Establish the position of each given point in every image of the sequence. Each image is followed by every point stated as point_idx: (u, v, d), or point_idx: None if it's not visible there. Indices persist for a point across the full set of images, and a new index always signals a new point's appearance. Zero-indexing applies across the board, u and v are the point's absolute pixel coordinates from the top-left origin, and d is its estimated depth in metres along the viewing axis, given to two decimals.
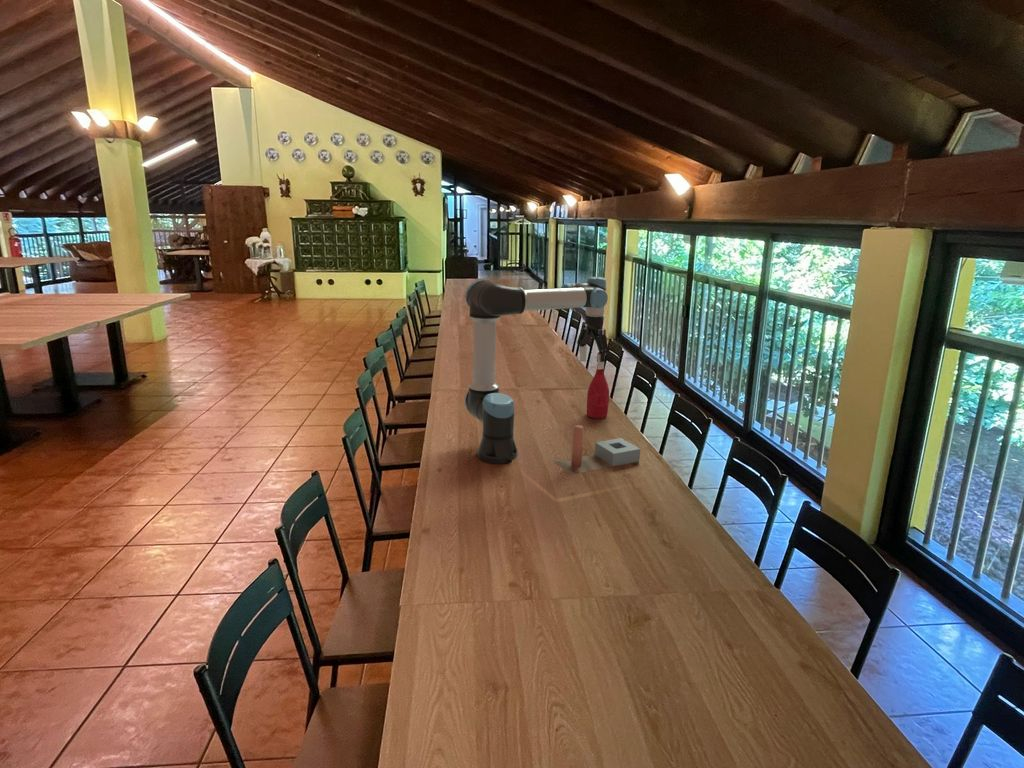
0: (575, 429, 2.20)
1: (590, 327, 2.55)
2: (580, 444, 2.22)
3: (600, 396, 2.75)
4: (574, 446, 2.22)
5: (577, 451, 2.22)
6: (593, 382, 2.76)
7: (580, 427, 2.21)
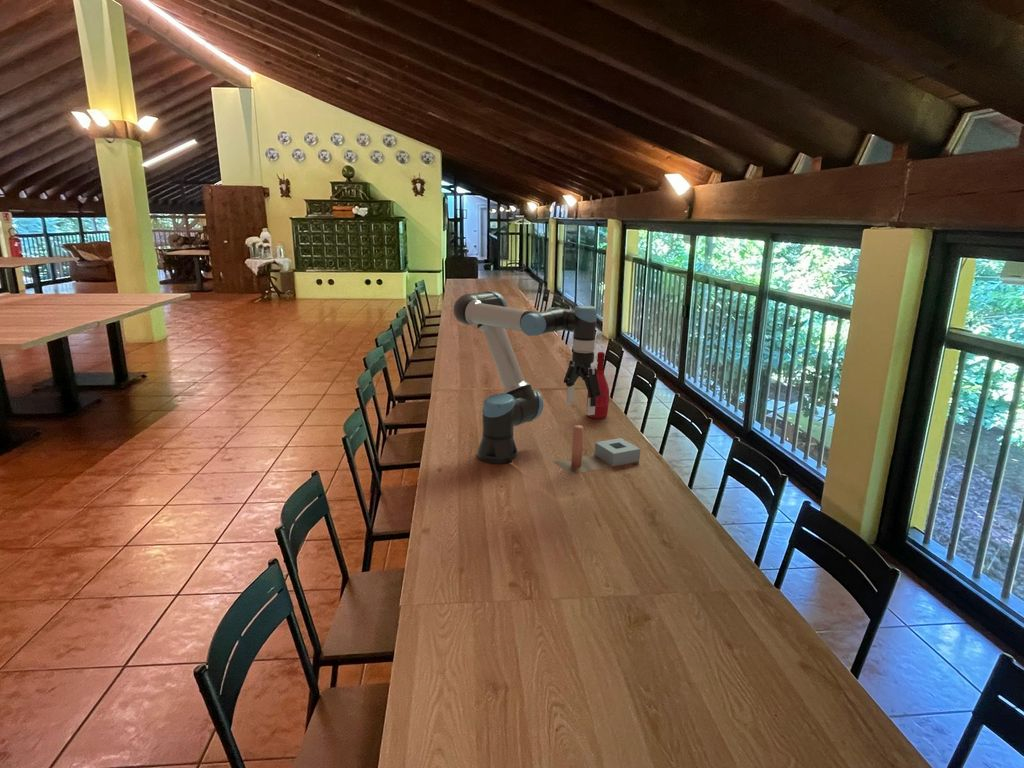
0: (575, 429, 2.20)
1: (578, 365, 2.15)
2: (580, 444, 2.22)
3: (600, 396, 2.75)
4: (574, 446, 2.22)
5: (577, 451, 2.22)
6: None
7: (580, 427, 2.21)
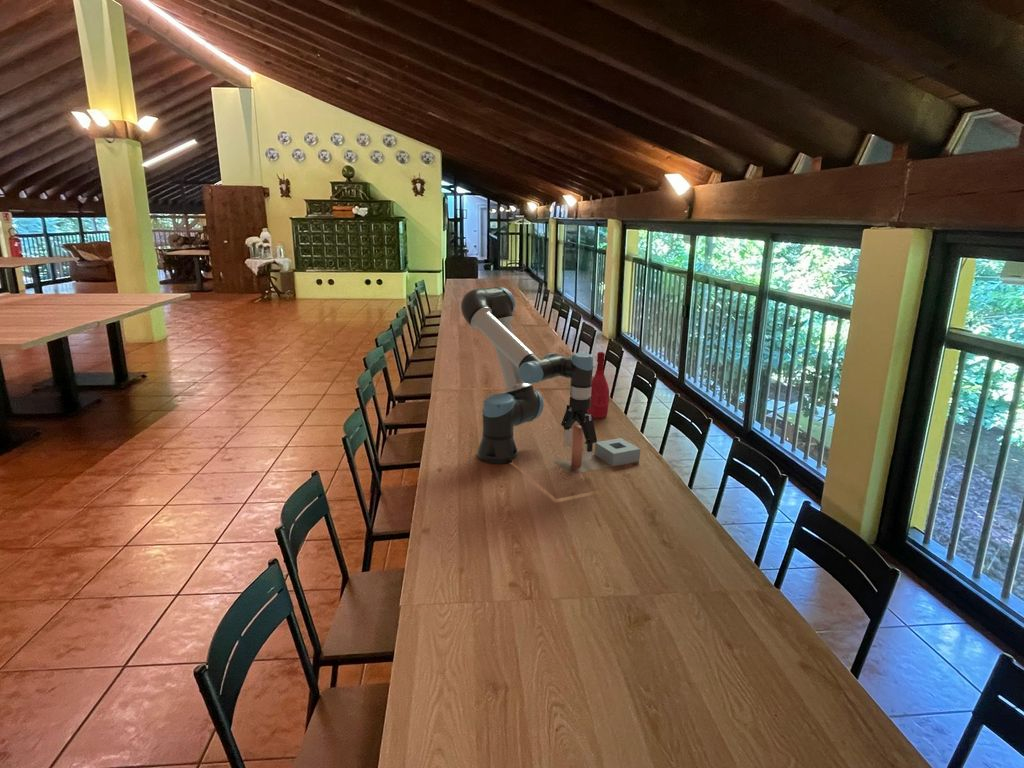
0: (575, 429, 2.20)
1: (575, 410, 2.20)
2: (580, 444, 2.22)
3: (600, 396, 2.75)
4: (574, 446, 2.22)
5: (577, 451, 2.22)
6: (593, 382, 2.76)
7: (580, 427, 2.21)
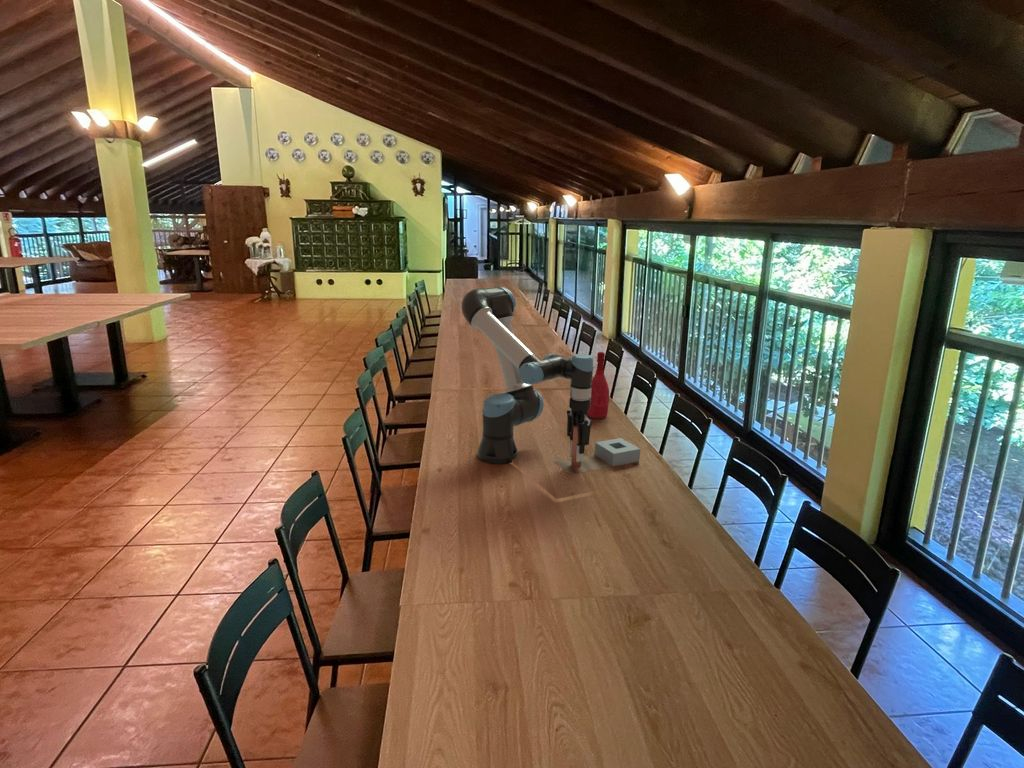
0: (575, 429, 2.20)
1: None
2: None
3: (600, 396, 2.75)
4: (574, 446, 2.22)
5: None
6: (593, 382, 2.76)
7: None
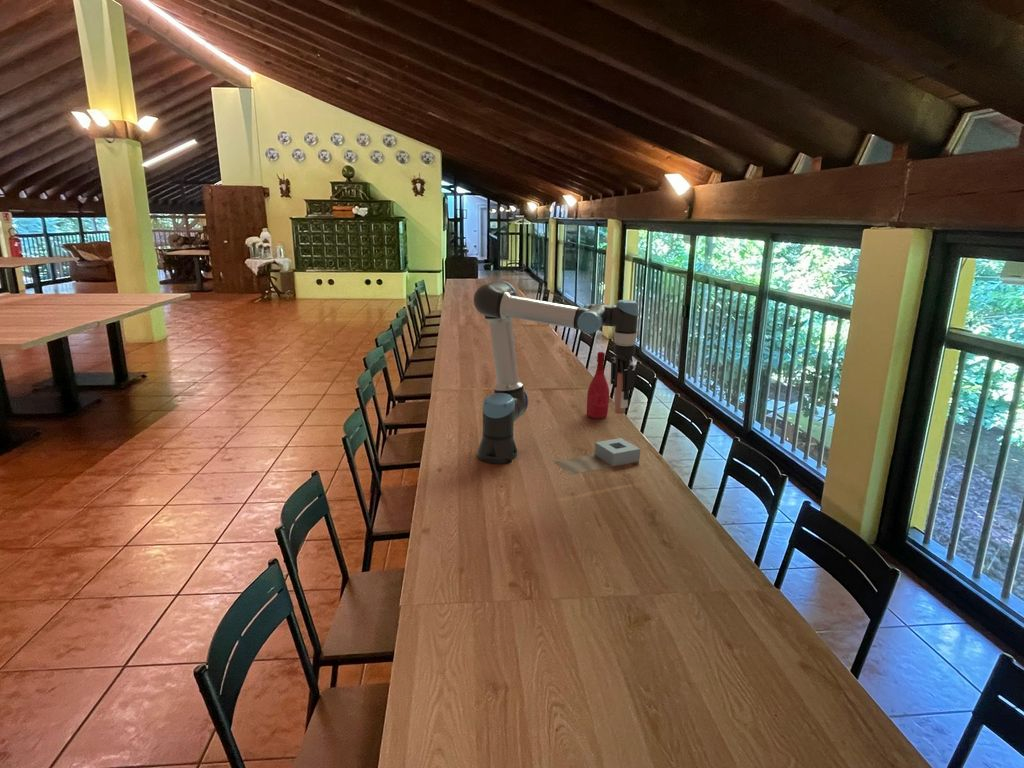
0: (619, 375, 2.22)
1: None
2: None
3: (600, 396, 2.75)
4: (618, 393, 2.24)
5: None
6: (593, 382, 2.76)
7: None
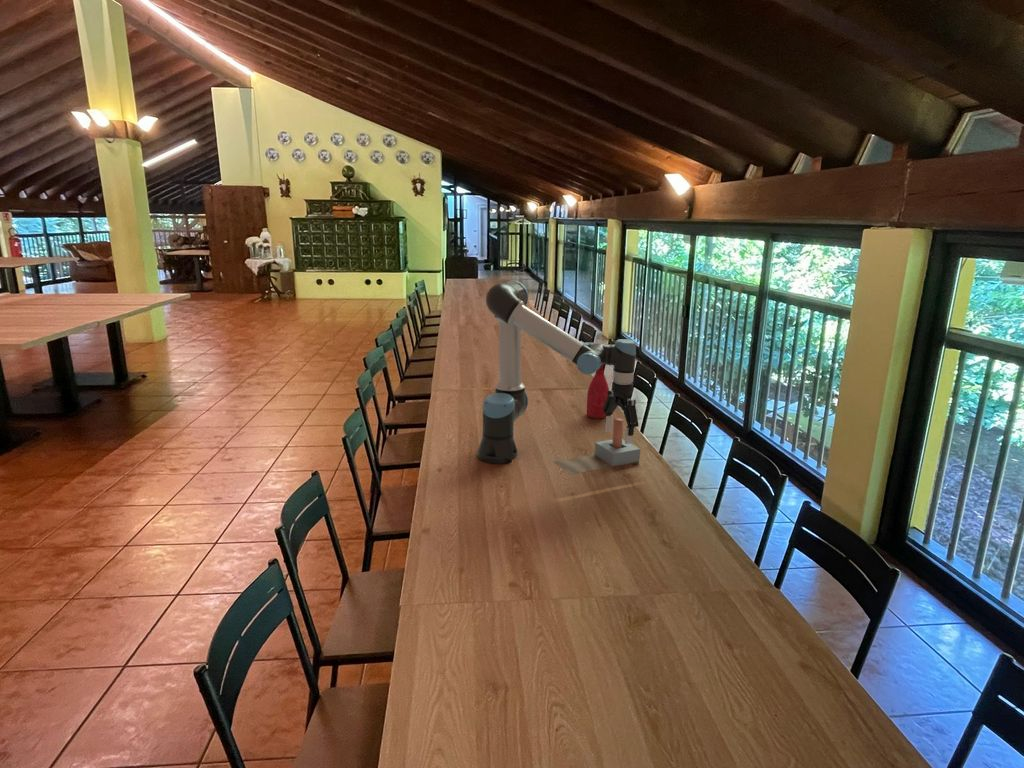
0: (615, 422, 2.29)
1: (617, 394, 2.27)
2: (620, 436, 2.30)
3: (600, 396, 2.75)
4: (614, 439, 2.30)
5: (617, 443, 2.30)
6: (593, 382, 2.76)
7: (620, 420, 2.29)
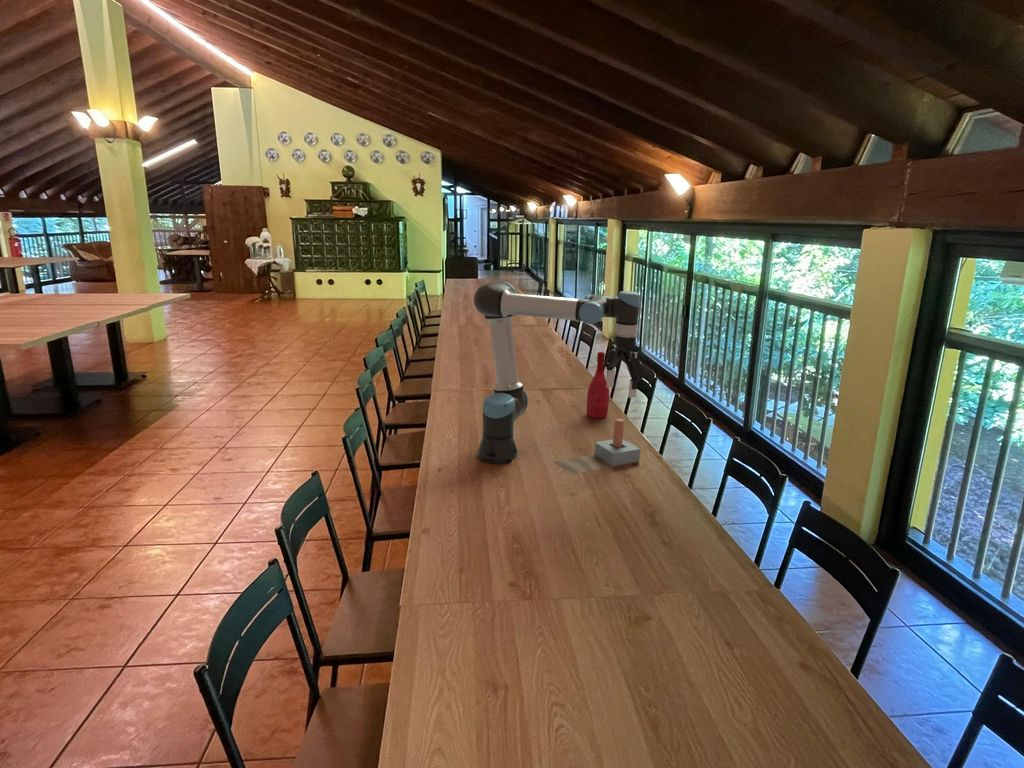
0: (616, 422, 2.28)
1: (620, 349, 2.22)
2: (621, 437, 2.29)
3: (600, 396, 2.75)
4: (614, 439, 2.30)
5: (617, 443, 2.30)
6: (593, 382, 2.76)
7: (621, 420, 2.29)
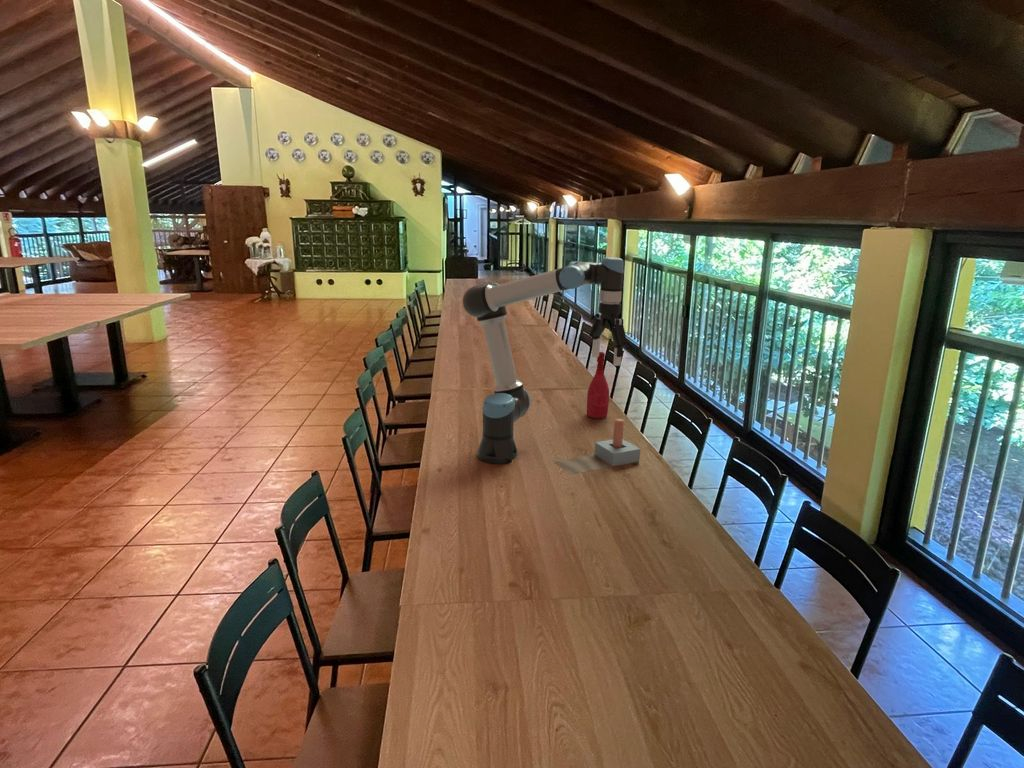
0: (616, 422, 2.28)
1: (605, 316, 2.18)
2: (621, 437, 2.29)
3: (600, 396, 2.75)
4: (614, 439, 2.30)
5: (617, 443, 2.30)
6: (593, 382, 2.76)
7: (621, 420, 2.29)
